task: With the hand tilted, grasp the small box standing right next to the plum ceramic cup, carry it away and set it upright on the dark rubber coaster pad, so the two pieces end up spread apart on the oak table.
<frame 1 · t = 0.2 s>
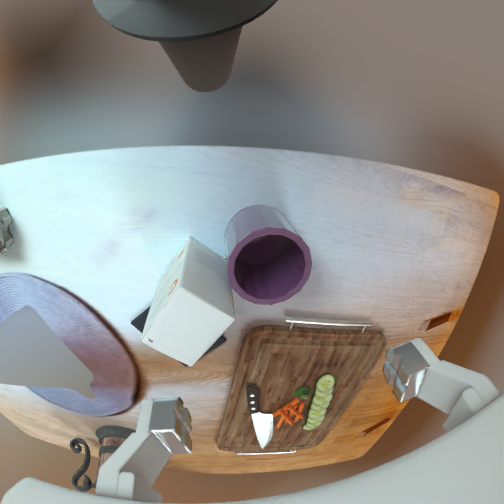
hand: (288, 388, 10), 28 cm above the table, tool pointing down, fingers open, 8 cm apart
small box: (193, 270, 38), on the table
coaster pad: (178, 331, 41), on the table
plum cup: (258, 237, 37), on the table
chopping board: (291, 403, 52), on the table
tankard: (115, 439, 54), on the table
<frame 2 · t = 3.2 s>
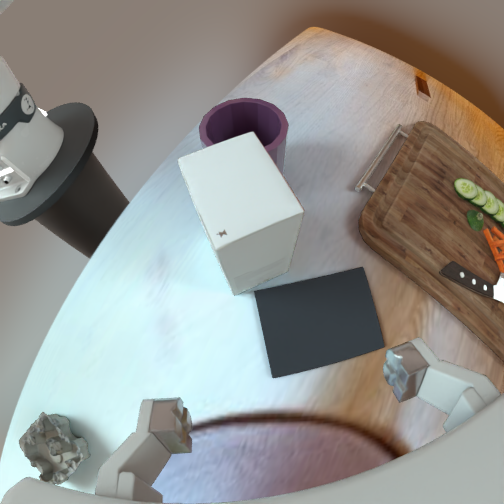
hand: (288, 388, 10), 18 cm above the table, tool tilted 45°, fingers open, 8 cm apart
egg carton: (60, 447, 23), on the table
small box: (246, 252, 31), on the table
coaster pad: (321, 321, 28), on the table
plum cup: (247, 176, 34), on the table
chopping board: (493, 249, 30), on the table
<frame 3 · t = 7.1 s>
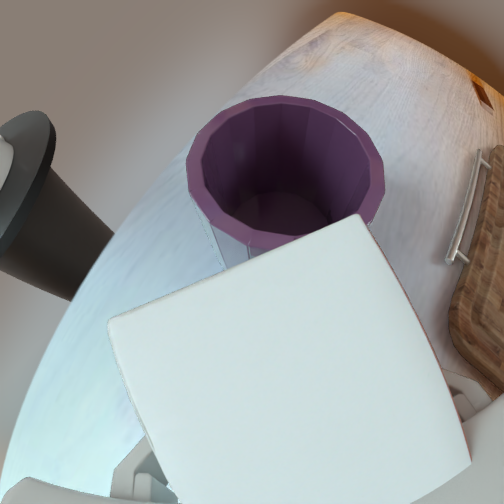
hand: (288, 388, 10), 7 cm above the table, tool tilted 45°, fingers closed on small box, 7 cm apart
small box: (280, 384, 17), on the table, touching gripper
plum cup: (278, 240, 20), on the table
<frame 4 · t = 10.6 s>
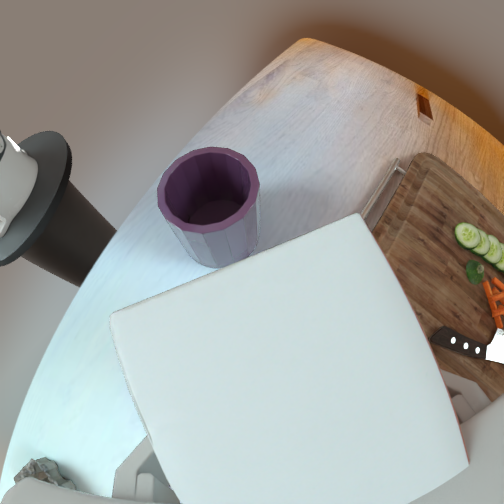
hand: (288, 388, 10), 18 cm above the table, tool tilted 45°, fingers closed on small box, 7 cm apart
egg carton: (51, 485, 20), on the table
small box: (282, 383, 17), point 10 cm above the table, touching gripper
plum cup: (220, 231, 31), on the table
chopping board: (492, 299, 27), on the table
when the fingers open (8 cm above the table, at t = 14.2 s): small box stays where it is, resting on coaster pad.
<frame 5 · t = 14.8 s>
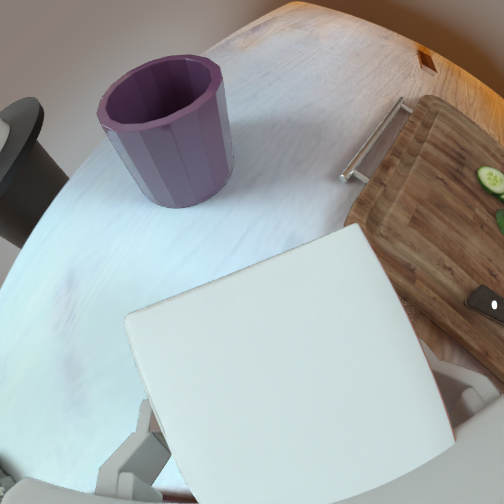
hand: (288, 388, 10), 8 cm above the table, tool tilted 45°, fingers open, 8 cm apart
small box: (279, 382, 17), resting on coaster pad
plum cup: (184, 166, 24), on the table
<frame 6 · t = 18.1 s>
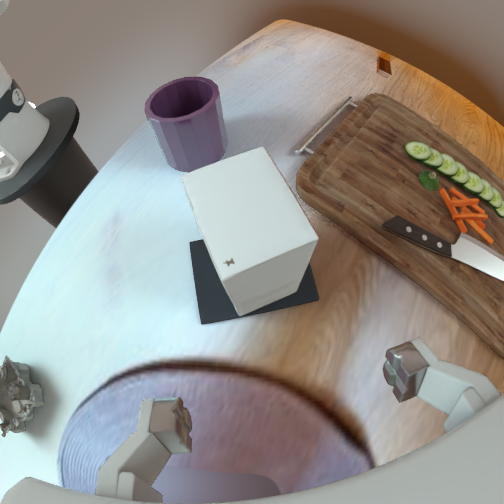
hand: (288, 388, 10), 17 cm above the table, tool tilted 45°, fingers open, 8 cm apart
egg carton: (21, 397, 24), on the table
small box: (252, 270, 29), resting on coaster pad
coaster pad: (251, 271, 30), on the table
plum cup: (195, 147, 36), on the table
chopping board: (454, 211, 32), on the table
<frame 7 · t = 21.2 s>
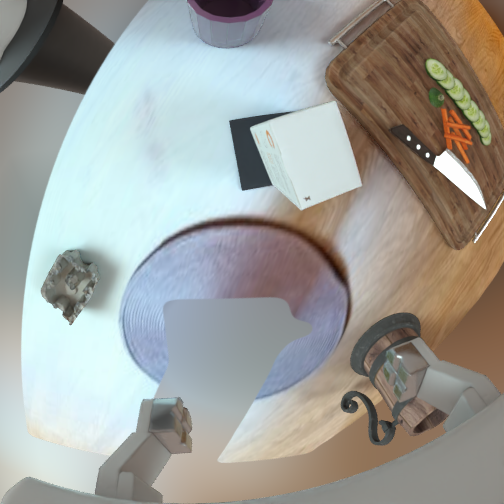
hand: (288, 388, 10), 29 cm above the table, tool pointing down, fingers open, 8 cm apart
egg carton: (74, 279, 38), on the table
small box: (283, 147, 34), resting on coaster pad
coaster pad: (282, 147, 34), on the table
plum cup: (227, 20, 27), on the table
chopping board: (447, 125, 35), on the table
tankard: (375, 357, 52), on the table
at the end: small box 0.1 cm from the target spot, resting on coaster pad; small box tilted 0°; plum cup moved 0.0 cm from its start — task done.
